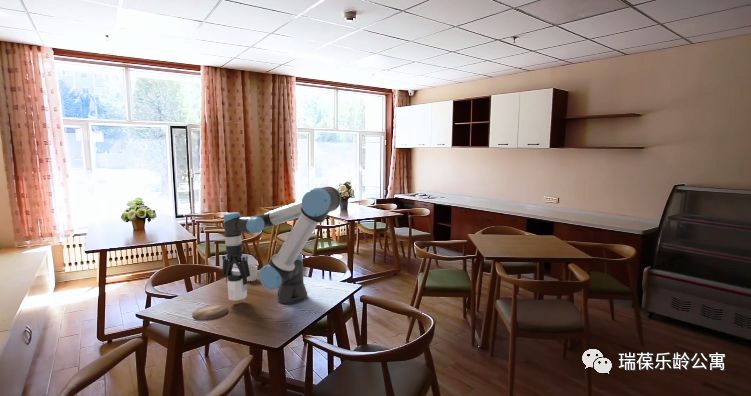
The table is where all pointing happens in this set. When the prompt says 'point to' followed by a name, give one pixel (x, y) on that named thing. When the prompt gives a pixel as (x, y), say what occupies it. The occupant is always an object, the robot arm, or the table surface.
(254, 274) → the cup
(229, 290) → the jar
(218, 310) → the disc
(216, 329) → the table surface
